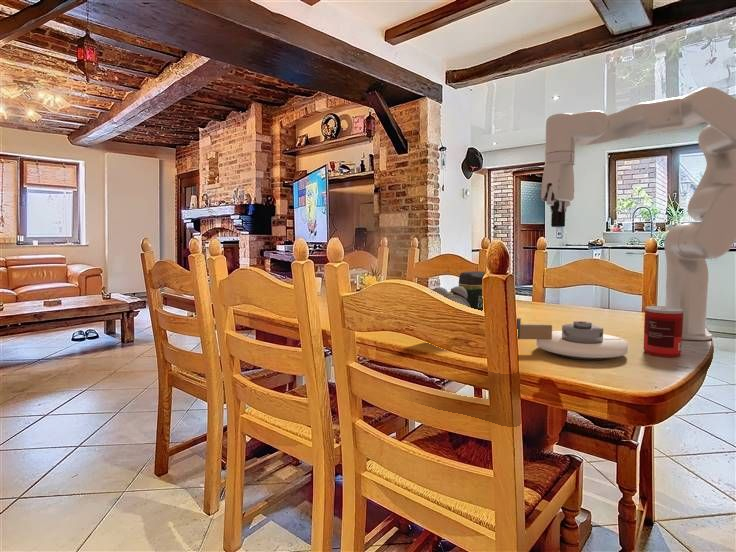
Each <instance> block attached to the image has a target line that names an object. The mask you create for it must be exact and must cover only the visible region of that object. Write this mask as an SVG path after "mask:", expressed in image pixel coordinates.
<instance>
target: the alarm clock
mask: <svg viewBox="0 0 736 552" xmlns="http://www.w3.org/2000/svg"><path fill="white" fill-rule="evenodd" d="M432 291H435V292H437V293H439V294H441V295H443V296H444V297H446V298H448V299H450V300H452V301H455V302H457V303H460V304H463V305H466V306H468V307H470V305H469V303H468V302H467V300H466V299H467V297H468V294H467V291H466V290H465V289H464V287H463V286H461V287H460V286H459V285H458V286H454V287H451V288H450V292H448V290H447V289H446V288H445V287H442V286H441V287H440V286H439V287H438V286H437V287H435V288H433V290H432Z"/></svg>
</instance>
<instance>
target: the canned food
mask: <svg viewBox="0 0 736 552" xmlns="http://www.w3.org/2000/svg"><path fill="white" fill-rule="evenodd" d="M643 320H644V322H643V323H644V325H643V351H644V353H645V354H648V355H650V356H655V357H659V356H660V357H661V358H678V357H680V356H681V353H682V347H683V345H682V344H683V343H682V342H683V341H682V340H683V339H682V328H683V309H680V308H675V307H667V306H665V305H664V306H662V305H649V306H645V308H644V319H643ZM660 357H659V358H660Z"/></svg>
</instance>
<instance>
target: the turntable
mask: <svg viewBox="0 0 736 552" xmlns="http://www.w3.org/2000/svg"><path fill="white" fill-rule="evenodd" d="M516 318H517V329H518V339H517V340H536V347H538V348H539V349H541V350H544V351H545V352H546V351H547V352H550V353H551V352H553V353H557V354H562V355H569V356H576V357H588V358H610V357H612V358H617V357H621V356H622V357H623V356H625V355H627V354H628V352H629V350H628V348H629V347H628V344H629V342H628V341H627V340H626V339H624V338H621V337H618V336H615V335H611V334H605V333H603V342H602V343H598V344H581V343H573V342H568V341H565V340H563V339H562V330H553V325H552V324H551V323H521V322H522V321H521V320H522V318H521V317H516ZM610 359H611V358H610Z"/></svg>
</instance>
